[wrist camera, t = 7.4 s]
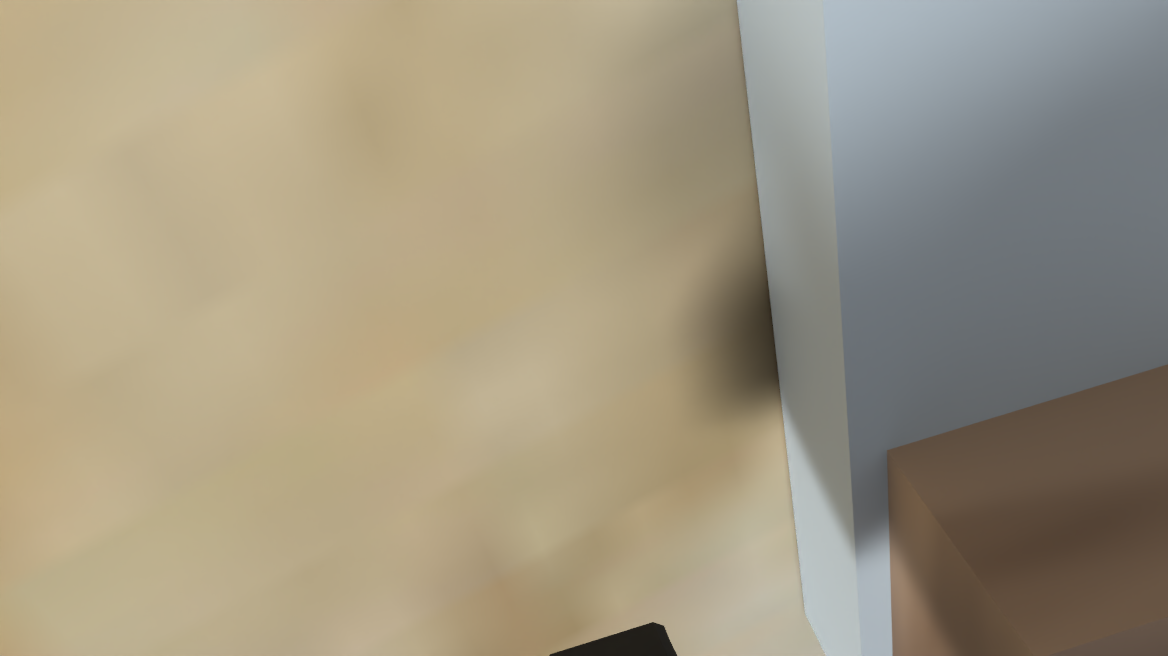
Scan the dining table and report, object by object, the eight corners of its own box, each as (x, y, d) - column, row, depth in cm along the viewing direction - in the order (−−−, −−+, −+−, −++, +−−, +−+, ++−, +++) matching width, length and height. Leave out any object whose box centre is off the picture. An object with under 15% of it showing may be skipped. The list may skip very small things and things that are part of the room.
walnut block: (1205, 592, 14) (1379, 776, 12) (893, 693, 14) (1007, 901, 12) (1276, 331, 12) (1526, 502, 9) (886, 450, 11) (1036, 659, 9)
